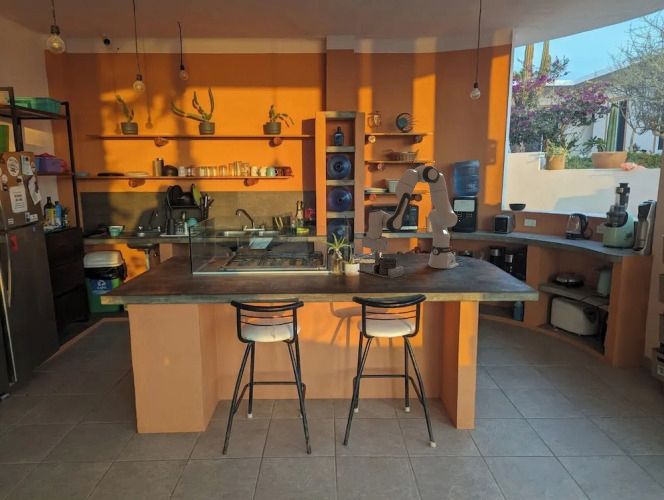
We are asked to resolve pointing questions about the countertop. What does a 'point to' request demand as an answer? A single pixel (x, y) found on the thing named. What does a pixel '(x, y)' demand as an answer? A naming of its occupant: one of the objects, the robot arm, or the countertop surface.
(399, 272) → the fixed jaw
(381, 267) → the small box
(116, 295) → the countertop surface
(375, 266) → the sliding jaw
